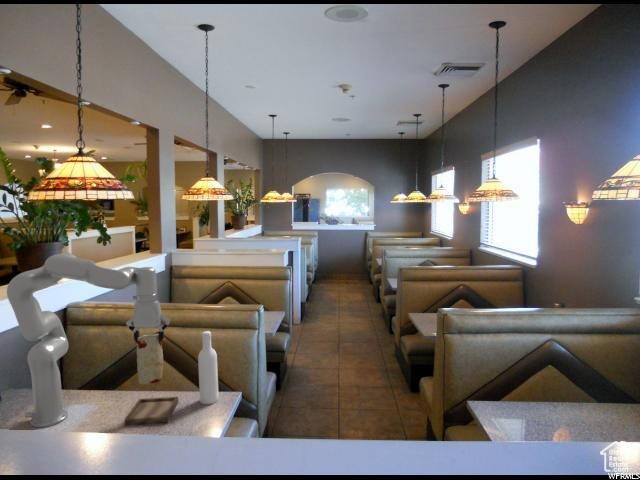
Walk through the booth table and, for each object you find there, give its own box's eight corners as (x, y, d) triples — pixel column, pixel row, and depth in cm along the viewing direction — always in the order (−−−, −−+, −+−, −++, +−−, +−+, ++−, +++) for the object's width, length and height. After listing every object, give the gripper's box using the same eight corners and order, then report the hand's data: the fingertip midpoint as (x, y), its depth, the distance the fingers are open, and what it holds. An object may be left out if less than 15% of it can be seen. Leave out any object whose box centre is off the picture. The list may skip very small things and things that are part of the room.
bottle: (200, 397, 192) (197, 330, 190) (219, 395, 194) (216, 329, 191) (198, 405, 184) (195, 335, 182) (218, 403, 186) (215, 334, 183)
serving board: (125, 425, 169) (124, 419, 168) (139, 404, 186) (139, 398, 186) (167, 423, 170) (167, 417, 170) (178, 402, 188) (178, 396, 188)
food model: (139, 388, 172) (136, 338, 170) (137, 382, 177) (134, 334, 176) (165, 382, 177) (163, 334, 175) (162, 377, 182) (159, 330, 181)
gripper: (120, 301, 170) (123, 345, 171) (167, 299, 171) (169, 343, 173) (127, 297, 177) (130, 339, 179) (171, 295, 179) (173, 337, 180)
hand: (149, 341), depth 176 cm, fingers closed on food model, 8 cm apart
